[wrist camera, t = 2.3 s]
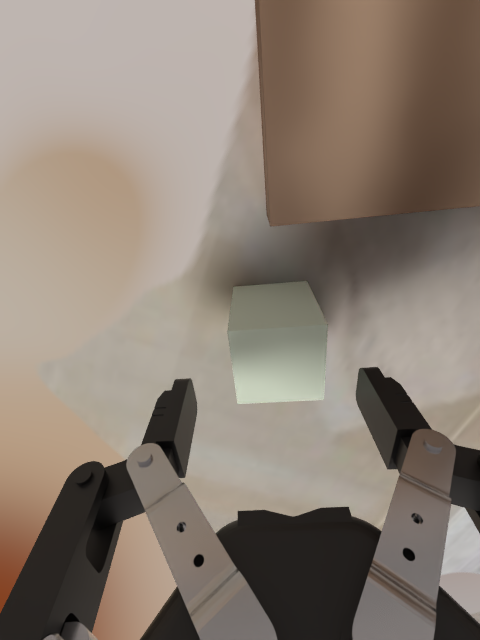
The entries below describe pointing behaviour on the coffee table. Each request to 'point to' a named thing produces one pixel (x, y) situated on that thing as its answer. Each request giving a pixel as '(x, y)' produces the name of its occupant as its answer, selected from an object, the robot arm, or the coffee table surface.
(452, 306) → the coffee table surface
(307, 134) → the walnut block
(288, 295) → the sage block
